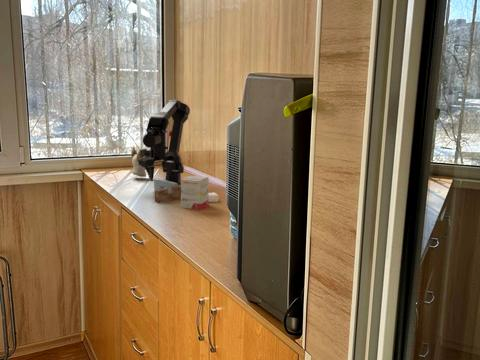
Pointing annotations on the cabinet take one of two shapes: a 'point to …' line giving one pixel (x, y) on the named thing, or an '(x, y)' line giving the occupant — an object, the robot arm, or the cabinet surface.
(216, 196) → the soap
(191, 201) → the ink box
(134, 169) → the ceramic sculpture
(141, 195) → the cabinet surface
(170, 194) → the brown boxy piece
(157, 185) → the light blue block
